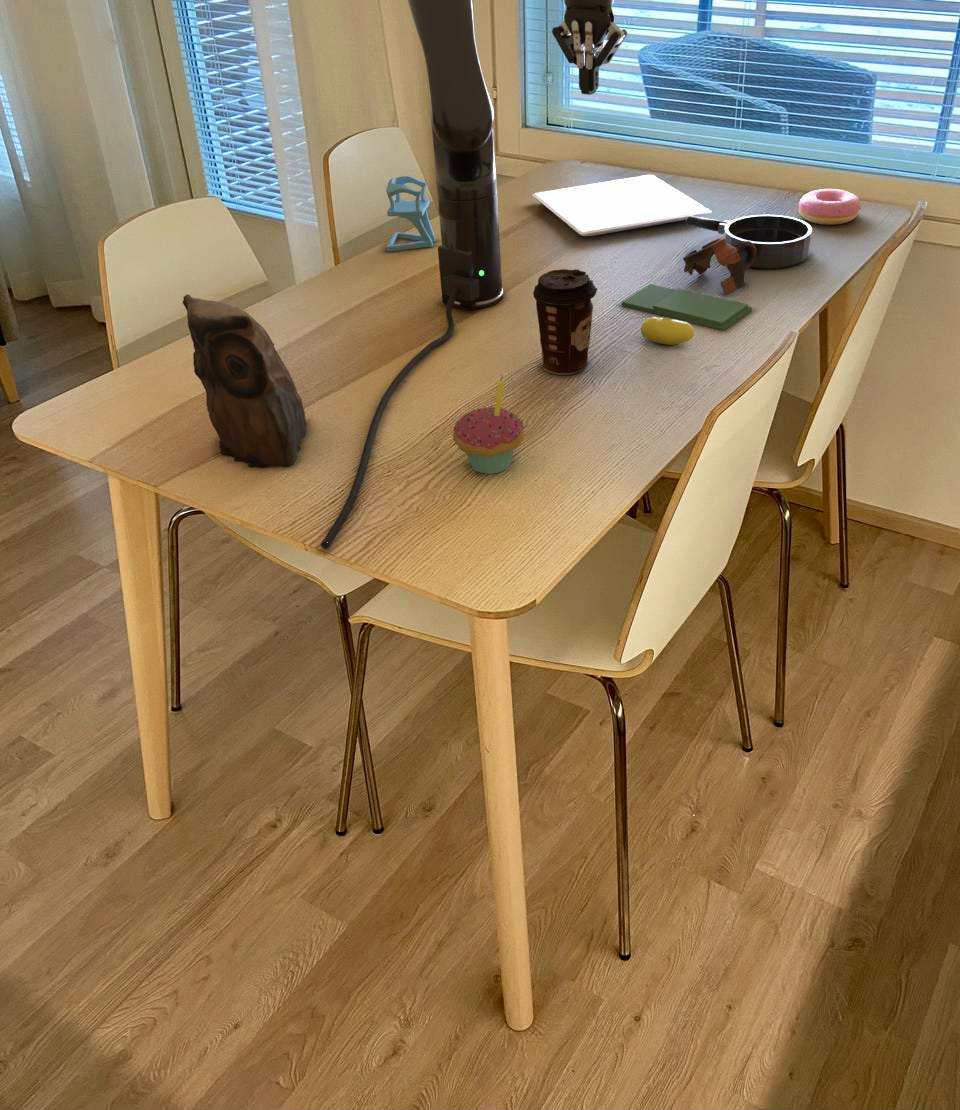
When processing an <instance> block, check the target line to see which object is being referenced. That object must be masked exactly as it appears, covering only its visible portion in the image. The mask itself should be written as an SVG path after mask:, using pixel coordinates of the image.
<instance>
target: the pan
mask: <svg viewBox="0 0 960 1110" xmlns="http://www.w3.org/2000/svg"><path fill="white" fill-rule="evenodd" d="M730 221H731V222H729V223H728V224H727V225H726V226H725V228H724V234H723V238H725V240H726V242H727V244H729V245H736V244H738V243H740V242H742V241H750V242H752V243H753V244H754V245H755V247H756V249H757V250H756V258H755V261H754V262H753V264H752V265H751V266H750V267H749V268H751V269H759V270H774V269H776V270H777V269H784V268H788V267H792V266H795V265H798V264H799V263H802V262H803V261H805V260H807V259H808V257H809V255H810V251H811V246H812V245H811V244H812V237H813V228H812V226H811V224H809V223H808V222H806V221H804V220H802V219H798V218H796V217H792V216H787V215H779V214H777V215H776V214H753V215H747V216H741V217H738V218H735V219H733V220H730ZM746 256H747V251H746V250H745V249H744V250H743V251H742V253H741V255H740V257H741V260H742V261H744V260H745V258H746Z"/></svg>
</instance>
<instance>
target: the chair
mask: <svg viewBox="0 0 960 1110" xmlns="http://www.w3.org/2000/svg"><path fill="white" fill-rule="evenodd" d="M407 184H414V185H417V186H419V187H421V190H418V189H416V188H413V187H411V186H409V185H407ZM427 184H428V181H423V180H420V179H418V178H416V177H414V176H407V175H404V176H398V177H396V176H395V177H391V179H389V180H388V181H387V186H386V189H385V190H386V195H387V198H388V200H389V204H390V205H389V206H390V207H389V208H388V209H387V211H386V214H387V217H398V218H403V219H406V220H407V221H409V222H410V223H412V225H413V226H414V227H415V229H416V230H417V231H418V233H411V232H402V231H396V232H394V233H393V235H392V236H391V238H390V239H389V241H388V243H387V244H386V246H385V248H386V249H385V250H386V252H396V251H398V252H399V251H403V250H405V251H406V250H414V249H421V248H432V247H434V243H435V242H437V241H436V236H435V233H434V231H433V227H432V225H431V221H430V217H429V215H428V211H427V209H428V207H429V206H430V199H427V198H426V194H425V193H426V187H427ZM402 193H403V194H404V193H405V194H409V195H412V196H414V197H415V199H413V200H407V199H402V197H401V196H402V195H401V194H402ZM394 196H395V199H394V198H393V197H394ZM398 239H403V240H411V241H412V242H404V243H397V244H395V243H396V241H397V240H398Z"/></svg>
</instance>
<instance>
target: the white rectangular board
mask: <svg viewBox="0 0 960 1110" xmlns="http://www.w3.org/2000/svg"><path fill="white" fill-rule="evenodd" d="M531 196H532V197H534V198H535V199H536V200H537V201H538V202H540V204H542V205H543V206H545V207H546V208H547V209H548V210H549V211H551V212H552V213H553V215H555V216H556V217H557V218H559V219H560V220H562V222H564V223H565V224H566V225H567V226H568V227H570V228H571V229H572V230H573V231H574V232H576V233H577V234H578V235H579V236H582V237H594V236H600V235H606V234H612V233H617V232H623V231H624V232H625V231H629V230H636V229H643V228H646V227H653V226H658V225H659V226H660V225H664V224H670V223H677V222H682V221H686V219H687V218H688V217H689V216H696V217H704V216H707V215H710V214H711V213H712V210H711V209H709V208H707V207H705V206H704V205H702V204H701V203H699V202H697V201H696V200H694V199H693V198H691V197H690V196H688V195H686V194H685V193H683V192H682V191H679V190H678V189H677V188H675V187H673V186H671V185H670V184H668V183H667V182H665V181H664V180H661V179H660V178H658V177H657V176H656V175H654V174H644V175H637V176H631V177H625V178H619V179H613V180H608V181H600V182H594V183H589V184H582V185H576V186H575V185H574V186H570V187H563V188H557V189H551V190H545V191H539V192H534V193H532V194H531Z"/></svg>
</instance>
